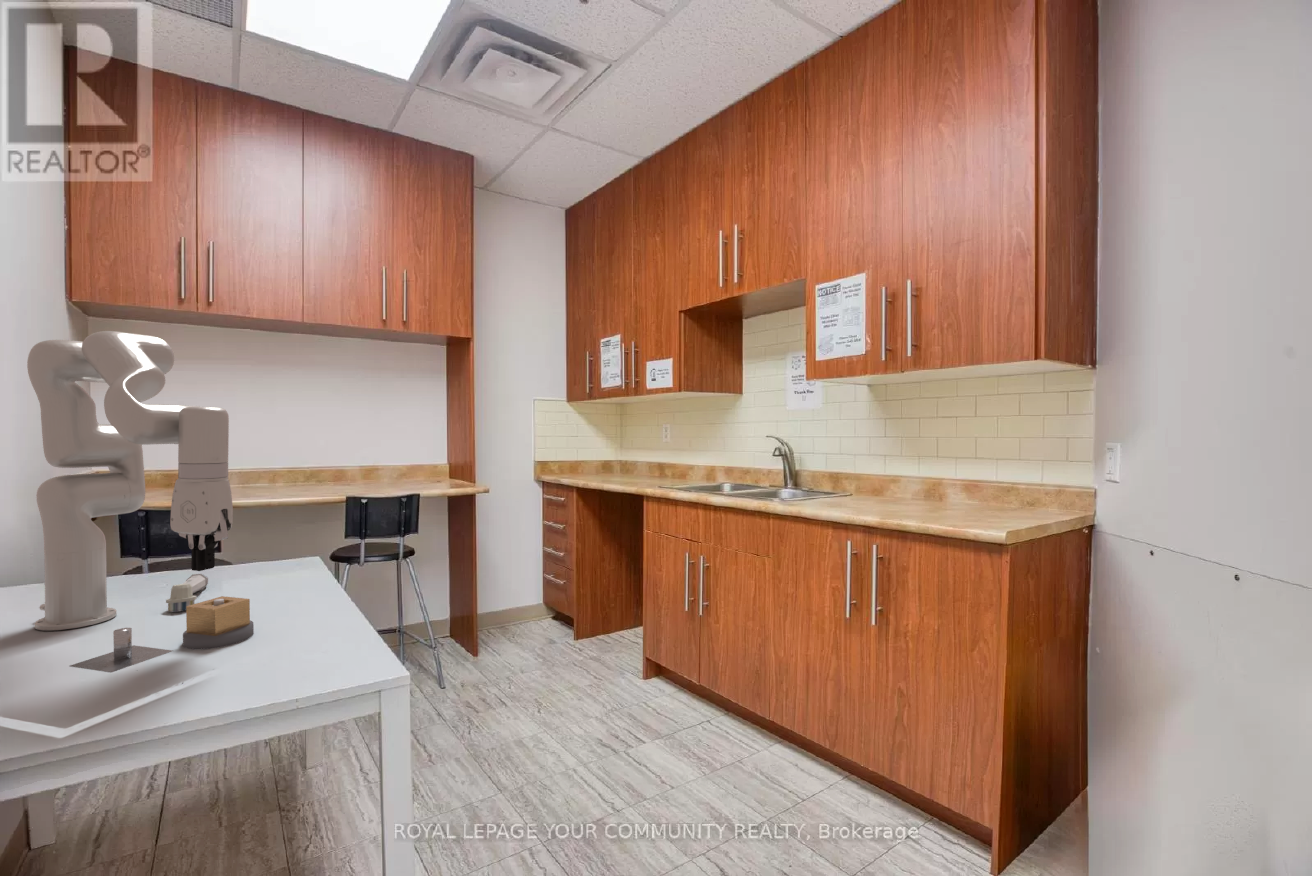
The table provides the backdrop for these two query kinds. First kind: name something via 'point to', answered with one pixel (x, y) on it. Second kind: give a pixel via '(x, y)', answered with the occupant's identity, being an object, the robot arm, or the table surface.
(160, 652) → the stand
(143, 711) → the table surface
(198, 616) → the collar
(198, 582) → the toothbrush head
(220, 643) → the hub
